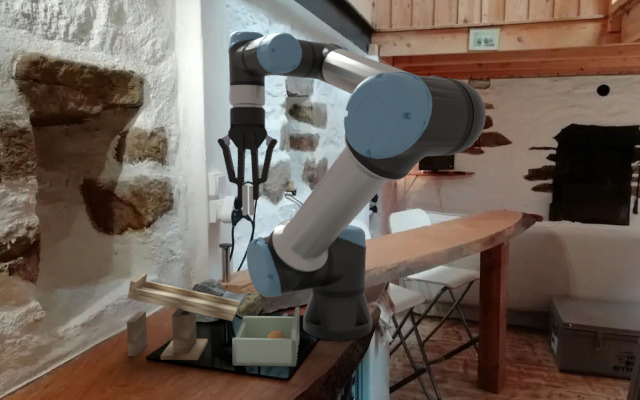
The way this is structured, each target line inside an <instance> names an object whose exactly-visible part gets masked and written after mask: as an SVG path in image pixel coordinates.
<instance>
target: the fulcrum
mask: <svg viewBox="0 0 640 400" xmlns="http://www.w3.org/2000/svg"><path fill="white" fill-rule="evenodd" d="M175 312H176V310H175V311H174V313H173V314H172V315H171V323H172V328H171V329H172V340H171V341H170V342H169V344H168V345H167V347H165V349H164V350H163V352H162V353H161V354H160V360H167V361H170V360H171V361H173V360H174V361H175V360H176V361H177V360H178V361H182V360H183V361H199V359H200V357H201V355H203V352H204V350H205V349H206V347H207V345H208V343H209V339H208V338H197V322H196V313H193V312H188V311H184V312H183V313H182V314H181V316H179V317H177V316H176V315H175ZM147 328H148V327H147V311H137V312H135V313H134V315H133V316H131V317H130V319H128V320H127V321H126V332H127V334H126V335H127V336H126V337H127V353H128V354H127V356H128V357H138V355H139V354H140V353H141V352H142V351H143V350H144V349H145V347H147V345H148V333H147V331H148V330H147Z"/></svg>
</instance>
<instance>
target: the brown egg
mask: <svg viewBox="0 0 640 400" xmlns="http://www.w3.org/2000/svg"><path fill="white" fill-rule="evenodd" d="M267 338H285V336H284V334H283V333H282V332H280V331H273V332H271V333H270V334H269V335H268V337H267Z"/></svg>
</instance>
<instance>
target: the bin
mask: <svg viewBox="0 0 640 400" xmlns="http://www.w3.org/2000/svg"><path fill="white" fill-rule="evenodd" d="M300 312H301V311H300V306H296V307H295V309H294V313H293V315H294V316H282V315H281V316H279V315H277V316H274V315H273V316H271V315H269V316H268V315H267V316H265V315H257V316H243V318H242V323H241V324H240V327H239V329H238V331H237V334H236V336H235V337H232V341H231V342H232V343H231V346H232V347H231V348H232V349H231V351H232V356H231V357H232V366H239V367H240V366H245V367H246V366H248V367H251V366H252V367H256V366H257V367H296V366H297V360H298V354H297V353H299V347H300V346H299V345H300V321H301V320H300V314H301V313H300ZM273 331H280V332H282V333H283V334H284V336H285V338H267V337H268V335H269V334H270V333H271V332H273ZM298 346H299V347H298Z"/></svg>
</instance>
